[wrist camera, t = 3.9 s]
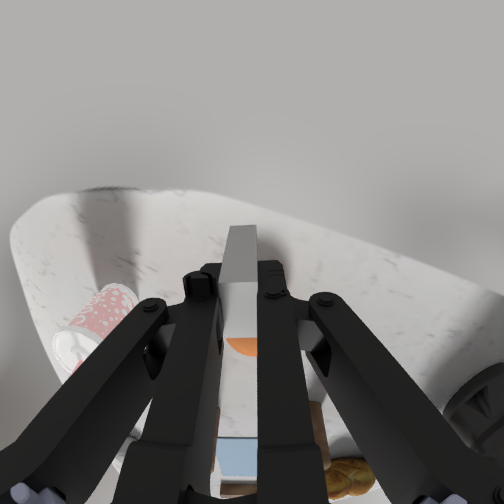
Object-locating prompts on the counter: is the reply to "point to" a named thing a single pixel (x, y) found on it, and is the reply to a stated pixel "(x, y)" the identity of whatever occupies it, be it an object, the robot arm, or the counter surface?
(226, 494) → the bar
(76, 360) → the beverage cup
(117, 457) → the garlic
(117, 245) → the counter surface
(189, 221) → the counter surface
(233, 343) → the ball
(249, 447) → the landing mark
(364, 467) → the bread roll
